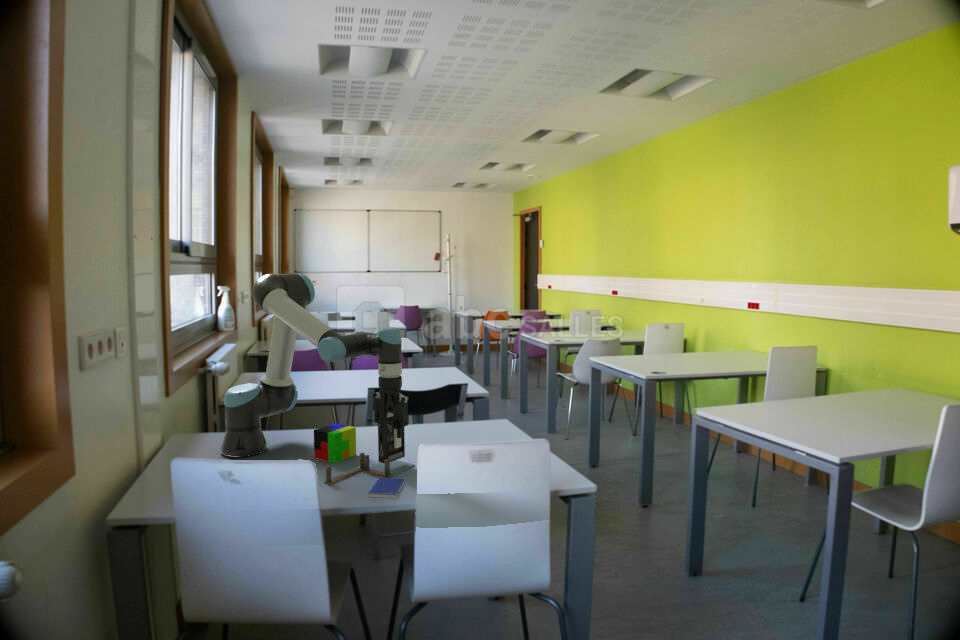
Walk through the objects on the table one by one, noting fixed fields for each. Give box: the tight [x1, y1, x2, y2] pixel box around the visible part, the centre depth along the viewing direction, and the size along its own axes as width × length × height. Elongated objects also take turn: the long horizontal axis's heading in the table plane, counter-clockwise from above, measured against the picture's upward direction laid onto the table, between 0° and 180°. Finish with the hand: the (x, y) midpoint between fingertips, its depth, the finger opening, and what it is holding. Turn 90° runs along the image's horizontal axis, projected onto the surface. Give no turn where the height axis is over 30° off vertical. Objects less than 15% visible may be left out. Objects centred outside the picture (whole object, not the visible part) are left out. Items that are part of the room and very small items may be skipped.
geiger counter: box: [377, 415, 406, 463], centre depth 188 cm, size 10×5×15 cm, turn 143°
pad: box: [369, 459, 416, 477], centre depth 189 cm, size 11×11×1 cm
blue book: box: [367, 477, 405, 499], centre depth 171 cm, size 2×8×12 cm
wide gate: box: [324, 452, 366, 486], centre depth 181 cm, size 2×16×6 cm, turn 148°
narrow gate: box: [362, 454, 392, 478], centre depth 183 cm, size 2×10×6 cm, turn 58°
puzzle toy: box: [313, 423, 357, 464], centre depth 200 cm, size 10×10×10 cm
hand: (391, 445), depth 189 cm, fingers closed on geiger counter, 5 cm apart
